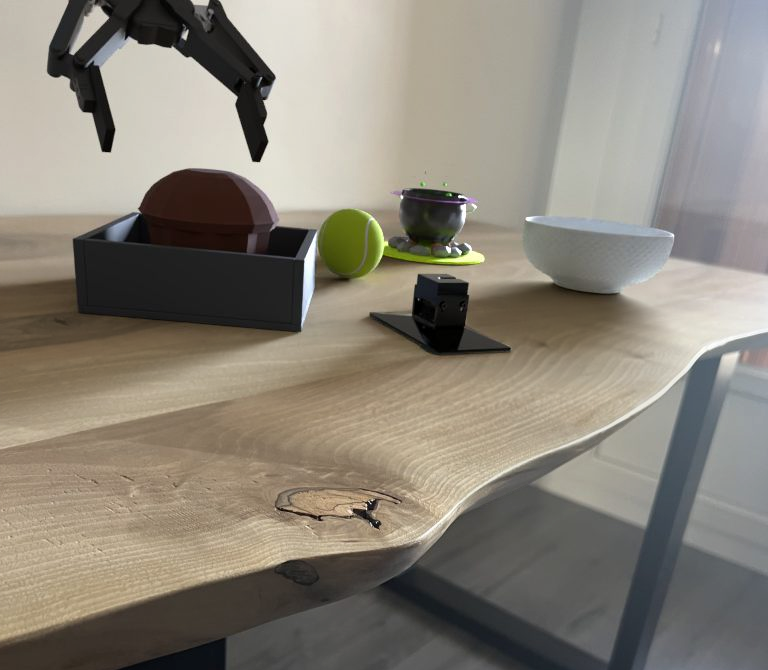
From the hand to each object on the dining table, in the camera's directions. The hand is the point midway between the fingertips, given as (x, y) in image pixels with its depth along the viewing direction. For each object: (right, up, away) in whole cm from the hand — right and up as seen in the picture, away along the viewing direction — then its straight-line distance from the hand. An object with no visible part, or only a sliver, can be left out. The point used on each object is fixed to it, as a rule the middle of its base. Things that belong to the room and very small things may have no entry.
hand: (188, 147), depth 71 cm
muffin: (+2, -13, +1) cm, 13 cm away
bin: (+2, -13, +1) cm, 13 cm away
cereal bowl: (+41, -6, +25) cm, 48 cm away
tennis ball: (+13, -7, +16) cm, 22 cm away
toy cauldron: (+23, +2, +37) cm, 43 cm away
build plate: (+22, -17, -2) cm, 27 cm away
